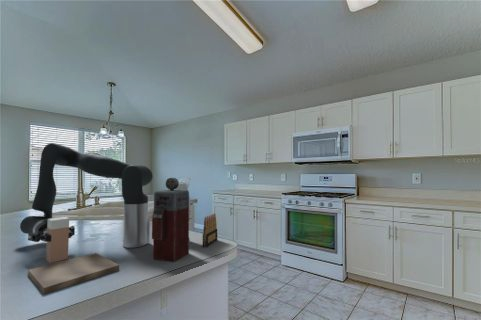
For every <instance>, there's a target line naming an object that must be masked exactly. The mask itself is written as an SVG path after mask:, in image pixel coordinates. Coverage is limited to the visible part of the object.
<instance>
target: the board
mask: <svg viewBox="0 0 481 320" xmlns="http://www.w3.org/2000/svg"><path fill="white" fill-rule="evenodd" d="M116 271H120V264H119V263H116V262H114V261H112V260H110V259H109V258H106V257H104V256H103V255H101V254H99V253H97V252H94V253H90V254H86V255H82V256H78V257H74V258H70V259H64V260H60V261H56V262H52V263H49V264H46V265H42V266H39V267H38V266H37V267H34V268H30V269H28V270H27V276H28V277H29V278H30V279H31V280H32V282H33V283H34V284H35V286H37V288H38V289H39V290H40V292H41V293H42V294H43V295H45V294H48V293H51V292H55V291H57V290H62V289H64V288H68V287H70V286H74V285H77V284H80V283H83V282H87V281H88V280H89V281H90V280H92V279H96V278H98V277H101V276H104V275H108V274H110V273H114V272H116Z"/></svg>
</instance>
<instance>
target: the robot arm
mask: <svg viewBox="0 0 481 320" xmlns="http://www.w3.org/2000/svg"><path fill="white" fill-rule="evenodd" d="M55 165H57V166H62V167H70V168H71V167H72V168H76V169H80V170H81V171H83V172H84V173H86V174H89V175H93V176H96V177H102V178H108V179H109V178H110V179H119V180H121V195H122V199H123V234H122V235H123V237H122V247H124V248H129V249H132V248H140V247H143V246H145V245H147V244H150V238H151V237H150V233H151V231H150V230H151V229H150V228H151V227H150V225H151V224H150V223H151V222H150V219H149V218H148V217H149V215H148V214H149V197H148V195H146V194H145V193H144V191H143V187H145V186H147V185H148V184H150V183H151V182H152V180H153V172H152V171H151V169H150V168H149V167H147V166H145V165H139V164H131V163H126V162H123V161H121V160H118V159H114V158H112V157H108V156H105V155H101V154H97V153H84V152H81V151H78V150H76V149H74V148H71V147H68V146H65V145H62V144H59V143H56V142H50V143H47V144H46V145H45V146H44V147H43V149H42V151H41V156H40V163H39V173H38V183H37V188H36V192H35V195H34V198H33V202H32V205H31V209H32V210H33V211H36V212H37V211H38V212H42V213H43V215H28V216H25V217H24V218H23V219H22V220H21V222H20V225H19V228H20V231H21V232H22V233H23V234H26V235H27V241H30V242H34V243H39V242H40V241H42V242H44V243H47V242H51V235H50V234H48V233H47V223H48V219H51V218H53V208H54V203H55V200H56V197H57V185H56V182H55V178H54V168H55ZM75 230H76V228H75V226H74V225H72V226H69V239H71V238H72V237H73V236H75V235H76V233H75V232H76V231H75Z"/></svg>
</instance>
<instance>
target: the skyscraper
mask: <svg viewBox="0 0 481 320" xmlns="http://www.w3.org/2000/svg"><path fill="white" fill-rule="evenodd" d="M183 180H188V182H186V181H183ZM178 182H179V185H178V187H177V188H176V189H174V190H188V191H189V185H190V182H191V178H190V177H183V178H180V179H179V180H178ZM190 198H191V197H190V196H189V219H190V216H191V199H190ZM190 239H191V238H189V243H191V240H190Z"/></svg>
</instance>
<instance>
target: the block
mask: <svg viewBox="0 0 481 320" xmlns="http://www.w3.org/2000/svg"><path fill="white" fill-rule="evenodd" d="M69 227H70V218H69V217H67V216H59V217H52V218H51V219H48V223H47V233H48V234H50V235H51V242H46V252H45V254H46V255H45V260H46V262H48V263H49V264H53V263H57V262H61V261H65V260H69V245H70V244H69V239H70V238H69Z"/></svg>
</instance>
